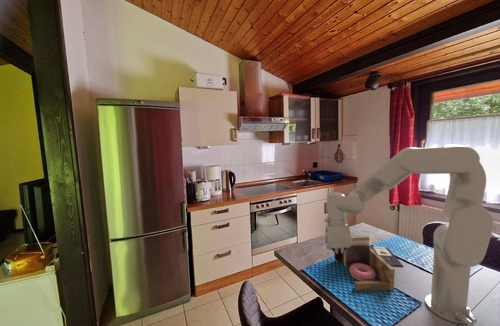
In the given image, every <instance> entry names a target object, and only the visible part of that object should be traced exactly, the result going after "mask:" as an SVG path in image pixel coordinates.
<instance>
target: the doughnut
mask: <svg viewBox="0 0 500 326" xmlns="http://www.w3.org/2000/svg"><path fill="white" fill-rule="evenodd" d="M348 269H349V273H350V275H351V276H352V278H354V279H356V281H376V277H377V275H376V273H375V271H374V269H373V268H371V267H370V266H369V265H366V264H363V263H354V264H352V265H351V266H350V267H349V268H348Z"/></svg>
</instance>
